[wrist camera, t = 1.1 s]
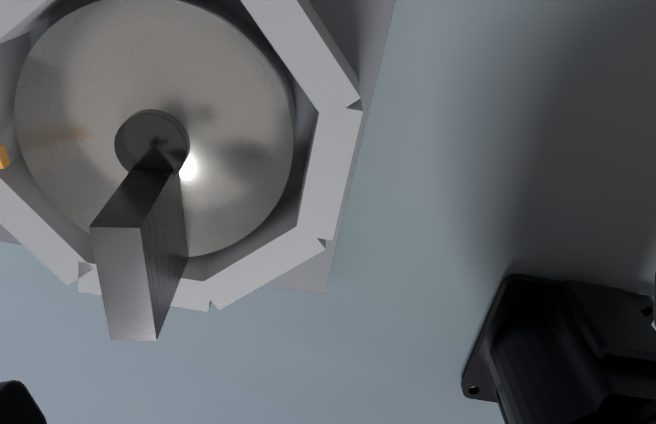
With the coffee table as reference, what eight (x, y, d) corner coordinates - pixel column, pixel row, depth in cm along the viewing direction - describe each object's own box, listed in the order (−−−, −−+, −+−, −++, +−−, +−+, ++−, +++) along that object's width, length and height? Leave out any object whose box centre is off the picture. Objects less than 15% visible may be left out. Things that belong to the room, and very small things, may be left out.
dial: (296, 229, 20) (285, 342, 15) (70, 225, 20) (-20, 337, 15) (295, -10, 17) (281, 29, 11) (18, -16, 17) (-125, 20, 11)
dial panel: (324, 276, 23) (324, 344, 20) (7, 224, 22) (-56, 286, 18) (400, -42, 18) (419, -29, 14) (-18, -134, 17) (-114, -146, 13)
